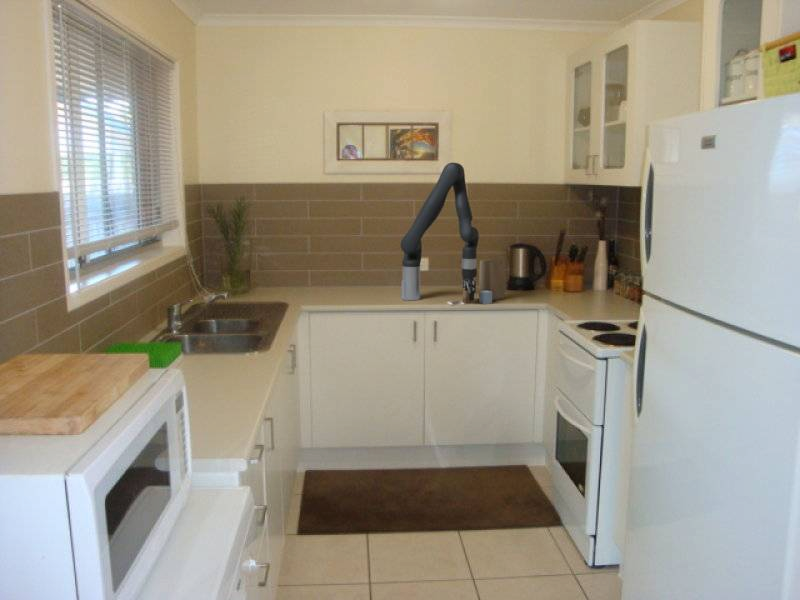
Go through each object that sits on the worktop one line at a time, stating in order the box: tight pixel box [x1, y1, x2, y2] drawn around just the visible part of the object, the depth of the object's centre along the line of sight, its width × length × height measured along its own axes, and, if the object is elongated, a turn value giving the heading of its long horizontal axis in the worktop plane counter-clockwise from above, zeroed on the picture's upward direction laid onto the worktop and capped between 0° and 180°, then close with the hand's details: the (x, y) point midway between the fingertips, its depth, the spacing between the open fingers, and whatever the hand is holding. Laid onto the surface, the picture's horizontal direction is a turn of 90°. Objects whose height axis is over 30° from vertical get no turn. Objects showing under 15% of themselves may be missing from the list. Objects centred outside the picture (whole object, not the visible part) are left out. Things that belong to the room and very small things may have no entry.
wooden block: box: [478, 258, 507, 301], centre depth 364 cm, size 10×10×20 cm
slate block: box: [478, 290, 493, 305], centre depth 353 cm, size 4×4×6 cm
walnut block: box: [462, 289, 475, 305], centre depth 355 cm, size 4×4×6 cm
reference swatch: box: [446, 300, 465, 306], centre depth 353 cm, size 7×7×1 cm
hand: (469, 299), depth 355 cm, fingers open, 8 cm apart
